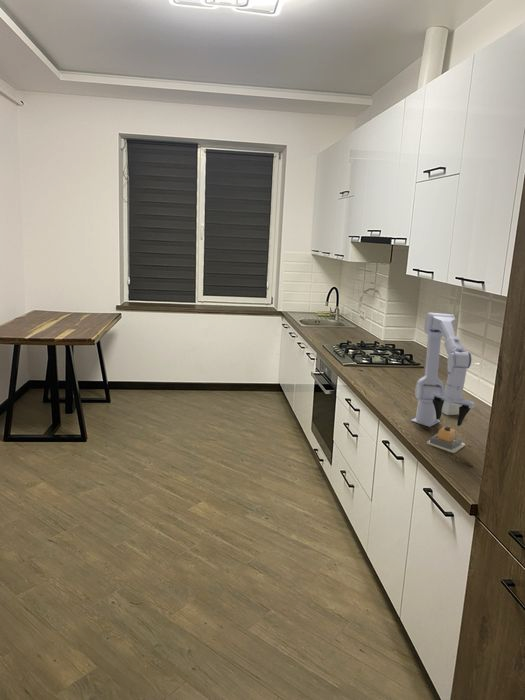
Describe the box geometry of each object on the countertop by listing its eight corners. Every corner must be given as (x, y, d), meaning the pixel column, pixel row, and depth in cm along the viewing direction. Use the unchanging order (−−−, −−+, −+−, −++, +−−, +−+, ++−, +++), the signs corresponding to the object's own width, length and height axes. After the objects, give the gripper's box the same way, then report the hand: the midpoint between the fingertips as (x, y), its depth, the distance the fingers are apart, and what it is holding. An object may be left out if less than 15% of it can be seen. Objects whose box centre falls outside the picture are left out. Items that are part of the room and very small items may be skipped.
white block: (447, 415, 216) (452, 388, 213) (440, 412, 220) (444, 384, 217) (458, 414, 218) (463, 387, 215) (451, 411, 222) (455, 384, 219)
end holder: (438, 437, 191) (439, 429, 190) (464, 445, 184) (466, 438, 184) (426, 443, 183) (427, 436, 183) (453, 453, 177) (455, 445, 176)
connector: (445, 438, 188) (447, 422, 186) (455, 441, 185) (458, 426, 184) (436, 443, 182) (439, 427, 181) (447, 447, 180) (450, 431, 178)
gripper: (430, 381, 180) (424, 418, 183) (471, 392, 171) (464, 430, 174) (438, 378, 185) (432, 414, 188) (479, 389, 176) (472, 426, 179)
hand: (448, 421), depth 181 cm, fingers open, 7 cm apart
